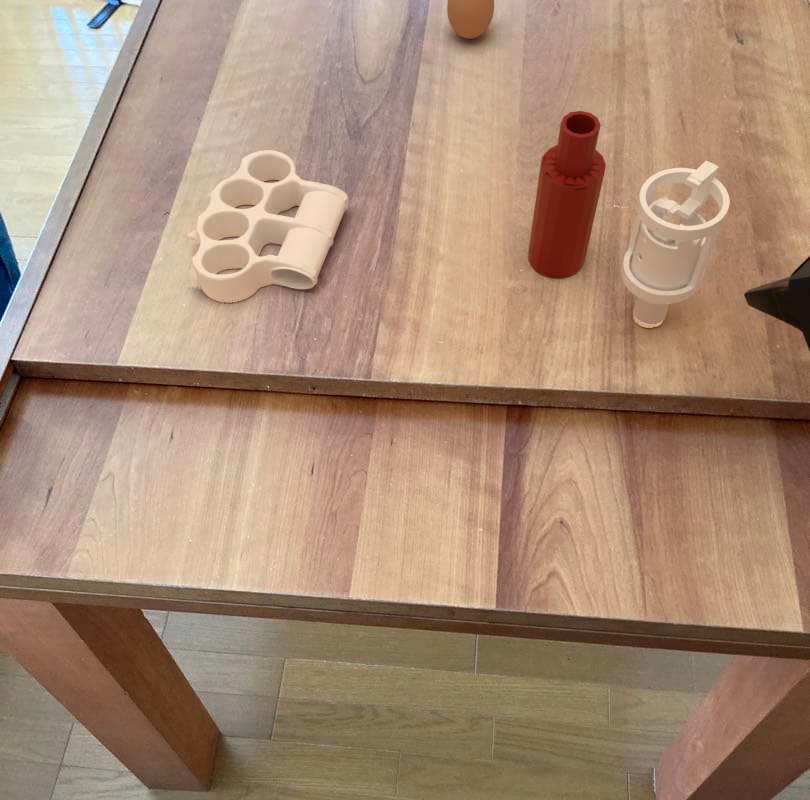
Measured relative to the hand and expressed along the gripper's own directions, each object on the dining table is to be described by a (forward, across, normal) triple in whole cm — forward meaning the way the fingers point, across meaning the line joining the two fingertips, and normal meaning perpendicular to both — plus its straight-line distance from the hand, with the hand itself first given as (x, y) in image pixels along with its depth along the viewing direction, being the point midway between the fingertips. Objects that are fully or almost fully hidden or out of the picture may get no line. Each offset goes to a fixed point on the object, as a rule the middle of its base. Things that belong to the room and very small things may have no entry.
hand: (781, 264), depth 63 cm
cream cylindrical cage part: (+16, -1, +3) cm, 17 cm away
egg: (+45, -20, -26) cm, 56 cm away
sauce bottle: (+24, 0, -5) cm, 24 cm away
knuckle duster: (+41, +18, -21) cm, 49 cm away
